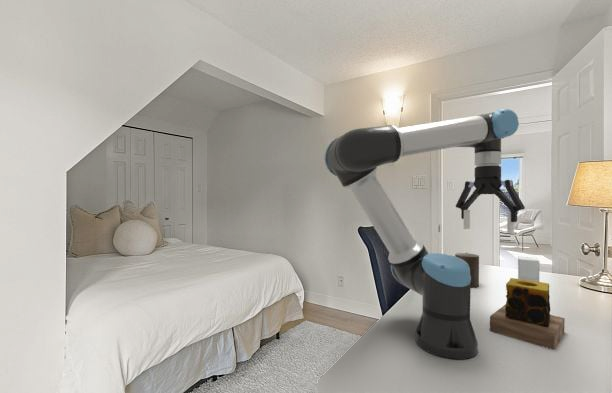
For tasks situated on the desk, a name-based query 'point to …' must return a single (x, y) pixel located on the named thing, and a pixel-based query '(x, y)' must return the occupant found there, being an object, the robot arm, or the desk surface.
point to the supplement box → (528, 268)
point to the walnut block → (528, 329)
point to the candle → (528, 301)
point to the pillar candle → (471, 266)
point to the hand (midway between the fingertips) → (487, 230)
